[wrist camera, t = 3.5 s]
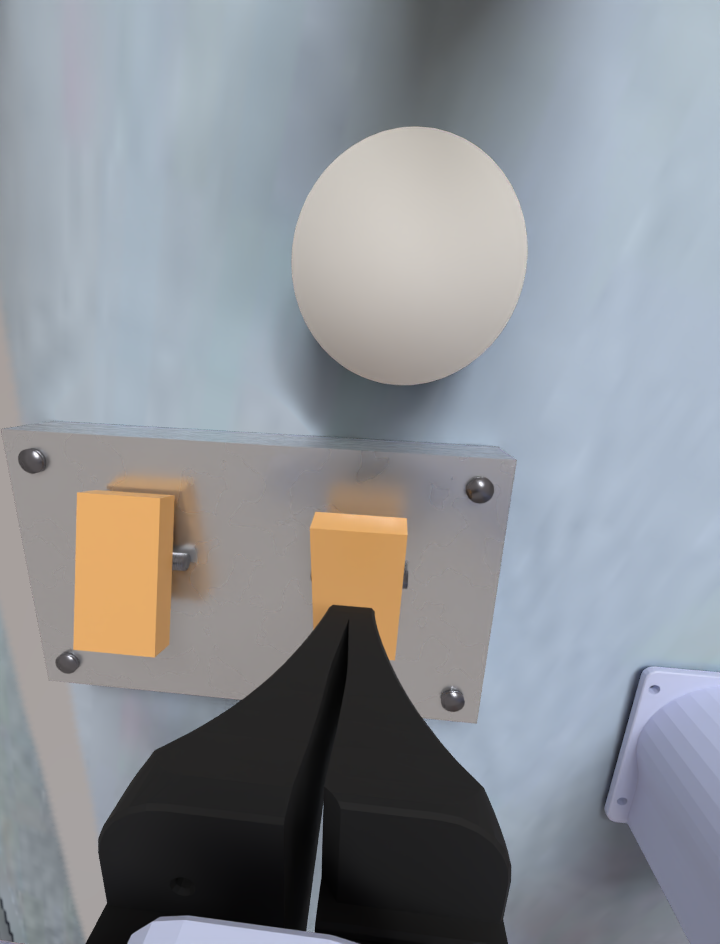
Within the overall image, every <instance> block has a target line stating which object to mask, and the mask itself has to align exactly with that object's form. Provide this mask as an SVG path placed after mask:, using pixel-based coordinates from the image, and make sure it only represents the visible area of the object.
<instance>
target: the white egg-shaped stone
mask: <svg viewBox="0 0 720 944" xmlns="http://www.w3.org/2000/svg"><path fill="white" fill-rule="evenodd" d="M527 253H528V251H527V233H526V227H525V221H524V216H523V213H522V210H521V207H520V203H519V200H518V198H517V196H516V194H515V192H514V190H513V187H512V185H511V184H510V182H509V181H508V179H507V177H506V176H505V174H504V173H503V171H502V170H501V169H500V168H499V167H498V165H497V164H496V163H495V162H494V161H493V160H492V158H490V157H489V156H488V155H487V154H486V153H485V152H483V151H482V150H481V149H480V148H479V147H477V146H476V145H474V144H473V143H471V142H469V141H468V140H466V139H465V138H462V137H460V136H458V135H455V134H453V133H450V132H448V131H444V130H440V129H436V128H429V127H418V126H414V127H400V128H395V129H391V130H386V131H382V132H380V133H377V134H375V135H372V136H369V137H367V138H365V139H363V140H362V141H360V142H358V143H356V144H355V145H353V146H351V147H350V148H349V149H347V150H346V151H345V152H343V153H342V154H341V155H340V156H338V157H337V158H336V159H335V160H334V161H333V162H332V163H331V164H330V165H329V166H328V167H327V168H326V170H325V171H324V172H323V173H322V175H321V176H320V177H319V179H318V180H317V181H316V183H315V184H314V186H313V188H312V189H311V191H310V193H309V195H308V196H307V198H306V201H305V203H304V205H303V207H302V210H301V212H300V215H299V218H298V222H297V225H296V228H295V234H294V239H293V245H292V260H291V264H292V279H293V285H294V291H295V296H296V299H297V302H298V305H299V309H300V311H301V314H302V316H303V318H304V320H305V323H306V325H307V326H308V328H309V330H310V331H311V333H312V335H313V336H314V338H315V339H316V340H317V342H318V343H319V344H320V345H321V347H322V348H323V349H324V350H325V351H326V352H327V353H328V354H329V355H330V356H331V357H332V358H333V359H334V360H335V361H337V362H338V363H339V364H341V365H342V366H343V367H345V368H346V369H348V370H350V371H352V372H353V373H355V374H357V375H359V376H362V377H364V378H367V379H369V380H372V381H376V382H380V383H384V384H392V385H416V384H423V383H428V382H432V381H435V380H439V379H442V378H444V377H446V376H449V375H451V374H453V373H455V372H457V371H459V370H461V369H462V368H464V367H466V366H467V365H469V364H470V363H471V362H473V361H474V360H475V359H477V358H478V357H479V356H480V355H481V354H482V353H483V352H484V351H485V350H486V349H487V348H488V347H489V346H491V345H492V343H493V342H494V341H495V340H496V338H497V337H498V336H499V334H500V333H501V332H502V330H503V329H504V327H505V326H506V324H507V322H508V321H509V319H510V317H511V315H512V313H513V311H514V309H515V307H516V304H517V302H518V299H519V296H520V293H521V290H522V287H523V283H524V278H525V273H526V265H527Z"/></svg>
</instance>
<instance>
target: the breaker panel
mask: <svg viewBox="0 0 720 944" xmlns="http://www.w3.org/2000/svg"><path fill="white" fill-rule="evenodd" d="M1 433H2V438H3V443H4V449H5V454H6V459H7V464H8V470H9V475H10V480H11V485H12V491H13V495H14V501H15V506H16V511H17V517H18V522H19V527H20V532H21V538H22V543H23V548H24V553H25V558H26V564H27V569H28V574H29V579H30V585H31V589H32V595H33V600H34V605H35V611H36V616H37V621H38V626H39V631H40V637H41V642H42V647H43V652H44V658H45V663H46V668H47V673H48V679H49V680H50V681H60V682H69V683H79V684H89V685H99V686H109V687H119V688H129V689H139V690H149V691H159V692H168V693H178V694H188V695H198V696H208V697H218V698H228V699H238V700H242V699H244V698H245V697H246V696H247V695H249V694H250V693H251V692H252V691H254V690H255V689H256V688H258V687H259V686H260V685H261V684H262V683H263V682H265V681H266V680H267V679H268V678H269V677H270V676H271V675H273V674H274V673H275V672H276V671H277V670H278V669H279V668H280V667H281V666H282V665H283V664H284V663H285V662H286V661H287V660H288V659H289V658H290V657H291V655H292V654H293V653H294V652H295V651H296V650H297V649H298V648H299V647H300V646H301V645H302V643H303V642H304V641H305V640H306V639H307V637H308V636H309V635H310V634H311V632H312V631H313V606H312V578H311V550H310V526H311V523H312V520H313V517H314V514H315V512H326V513H340V514H354V515H369V516H383V517H397V518H407V533H408V536H407V546H406V556H405V566H404V576H403V586H402V596H401V605H400V615H399V625H398V635H397V645H396V655H395V661H394V660H389V661H390V663H391V665H392V667H393V669H394V671H395V673H396V675H397V677H398V679H399V681H400V683H401V685H402V687H403V689H404V690H405V692H406V694H407V695H408V697H409V699H410V700H411V702H412V703H413V705H414V707H415V708H416V710H417V711H418V713H419V714H420V716H421V717H422V718H427V719H437V720H447V721H457V722H467V723H476V724H477V718H478V712H479V705H480V699H481V692H482V685H483V679H484V672H485V666H486V659H487V653H488V646H489V639H490V633H491V626H492V620H493V613H494V606H495V600H496V593H497V587H498V580H499V573H500V567H501V560H502V554H503V547H504V540H505V534H506V527H507V521H508V514H509V507H510V501H511V494H512V488H513V481H514V474H515V468H516V461H517V460H516V459H515V458H513V457H512V456H511V455H509V454H508V453H507V452H505V451H504V450H502V449H501V448H500V447H495V446H478V445H460V444H443V443H426V442H409V441H391V440H374V439H357V438H339V437H322V436H305V435H288V434H270V433H253V432H236V431H218V430H201V429H184V428H167V427H149V426H132V425H115V424H97V423H80V422H63V421H49V422H43V423H36V424H30V425H24V426H17V427H11V428H4V429H1ZM93 490H104V491H119V492H133V493H148V494H162V495H175V500H174V528H173V556H172V584H171V612H170V640H169V645H168V646H167V647H166V648H165V649H164V650H163V651H162V652H160V653H159V654H158V655H157V656H156V657H155V658H154V657H144V656H133V655H123V654H112V653H102V652H91V651H81V650H73V643H74V600H75V556H76V512H77V492H85V491H93Z"/></svg>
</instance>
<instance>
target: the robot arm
mask: <svg viewBox="0 0 720 944" xmlns="http://www.w3.org/2000/svg"><path fill="white" fill-rule="evenodd" d="M652 685H654V686H652ZM651 686H652V687H651ZM649 687H651V688H649ZM323 801H324V810H323V845H322V878H321V885H320V892H319V900H318V907H317V914H316V922H315V933H313V932H306V928H307V920H308V913H309V905H310V897H311V890H312V882H313V874H314V867H315V860H316V852H317V845H318V837H319V830H320V823H321V815H322V808H323ZM605 812H606V814H607V816H608V818H609V819H610V820H611V821H614V822H619V823H628V825H629V827H630V829H631V831H632V833H633V835H634V837H635V839H636V841H637V842H638V844H639V846H640V848H641V850H642V852H643V854H644V856H645V858H646V860H647V862H648V864H649V866H650V867H651V869H652V871H653V873H654V875H655V877H656V879H657V881H658V883H659V885H660V887H661V889H662V891H663V892H664V894H665V896H666V898H667V900H668V902H669V904H670V906H671V908H672V910H673V912H674V914H675V916H676V917H677V919H678V921H679V923H680V925H681V927H682V929H683V931H684V933H685V935H686V937H687V939H688V940H689V942H690V944H720V672H711V671H700V670H688V669H677V668H666V667H655V666H654V667H648V668H646V669H645V670H643V672H642V674H641V677H640V680H639V684H638V688H637V691H636V695H635V699H634V702H633V706H632V709H631V713H630V717H629V720H628V724H627V728H626V731H625V735H624V739H623V742H622V746H621V749H620V753H619V757H618V760H617V764H616V768H615V771H614V775H613V779H612V782H611V786H610V789H609V793H608V797H607V800H606V804H605ZM98 853H99V859H100V865H101V870H102V876H103V882H104V887H105V893H106V899H107V904H106V906H105V908H104V910H103V912H102V914H101V916H100V918H99V919H98V921H97V923H96V925H95V927H94V929H93V931H92V933H91V935H90V936H89V938H88V940H87V942H86V944H508V942H507V937H506V932H505V927H504V922H503V917H504V912H505V907H506V902H507V897H508V892H509V888H510V883H511V863H510V859H509V854H508V850H507V847H506V844H505V840H504V837H503V835H502V832H501V829H500V826H499V823H498V821H497V818H496V815H495V813H494V810H493V808H492V806H491V803H490V801H489V799H488V796H487V794H486V792H485V790H484V788H483V787H482V786H481V785H480V784H479V783H478V782H477V781H476V780H475V779H474V778H473V777H472V776H471V775H470V774H469V773H468V772H467V771H466V770H465V769H464V768H463V767H462V766H461V765H460V764H459V763H458V762H457V761H456V760H455V758H454V757H453V756H452V755H451V754H450V753H449V751H448V750H447V749H446V748H445V747H444V746H443V744H442V743H441V742H440V741H439V739H438V738H437V737H436V735H435V734H434V733H433V732H432V730H431V729H430V728H429V726H428V725H427V724H426V722H425V721H424V720H423V718H422V717H421V716H420V714H419V713H418V711H417V710H416V708H415V707H414V705H413V703H412V702H411V700H410V699H409V697H408V695H407V694H406V692H405V690H404V689H403V687H402V685H401V683H400V681H399V679H398V677H397V675H396V673H395V671H394V669H393V667H392V665H391V663H390V661H389V658H388V656H387V654H386V651H385V649H384V646H383V644H382V641H381V638H380V635H379V631H378V628H377V624H376V620H375V611H374V610H373V609H372V608H367V607H355V606H343V605H332V606H330V607H329V608H328V610H327V612H326V613H325V615H324V616H323V618H322V619H321V621H320V622H319V623H318V625H317V626H316V627H315V629H314V630H313V631H312V632H311V634H310V635H309V636H308V637H307V639H306V640H305V641H304V642H303V643H302V645H301V646H300V647H299V648H298V649H297V650H296V651H295V652H294V653H293V654H292V655H291V657H290V658H289V659H288V660H287V661H286V662H285V663H284V664H283V665H282V666H281V667H280V668H279V669H278V670H277V671H276V672H275V673H274V674H273V675H271V676H270V677H269V678H268V679H267V680H266V681H265V682H263V683H262V684H261V685H260V686H259V687H258V688H256V689H255V690H254V691H252V692H251V693H250V694H249V695H247V696H246V697H245V698H244V699H242V700H241V701H240V702H238V703H237V704H236V705H234V706H233V707H231V708H230V709H228V710H227V711H225V712H224V713H222V714H221V715H219V716H217V717H216V718H214V719H213V720H211V721H209V722H208V723H206V724H204V725H203V726H201V727H199V728H197V729H196V730H194V731H192V732H190V733H188V734H186V735H184V736H182V737H180V738H178V739H177V740H175V741H173V742H171V743H169V744H167V745H165V746H163V747H161V748H159V749H157V750H155V751H154V752H153V753H152V755H151V756H150V757H149V759H148V760H147V762H146V763H145V764H144V765H143V767H142V768H141V769H140V770H139V772H138V773H137V774H136V776H135V777H134V779H133V780H132V781H131V783H130V784H129V786H128V787H127V789H126V791H125V792H124V794H123V795H122V797H121V799H120V800H119V802H118V803H117V805H116V807H115V808H114V810H113V811H112V813H111V815H110V816H109V818H108V819H107V821H106V822H105V824H104V826H103V828H102V831H101V833H100V836H99V838H98ZM0 944H23V943H17V942H10V941H3V940H0Z"/></svg>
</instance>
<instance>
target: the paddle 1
mask: <svg viewBox="0 0 720 944" xmlns="http://www.w3.org/2000/svg"><path fill="white" fill-rule="evenodd" d="M174 500H175V495H162V494H148V493H133V492H119V491H104V490H93V491H85V492H77V512H76V556H75V600H74V643H73V650H81V651H91V652H102V653H112V654H123V655H133V656H144V657H154V658H155V657H156V656H157V655H158V654H159V653H160V652H162V651H163V650H164V649H165V648H166V647H167V646H168V645H169V640H170V612H171V584H172V556H173V528H174Z"/></svg>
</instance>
